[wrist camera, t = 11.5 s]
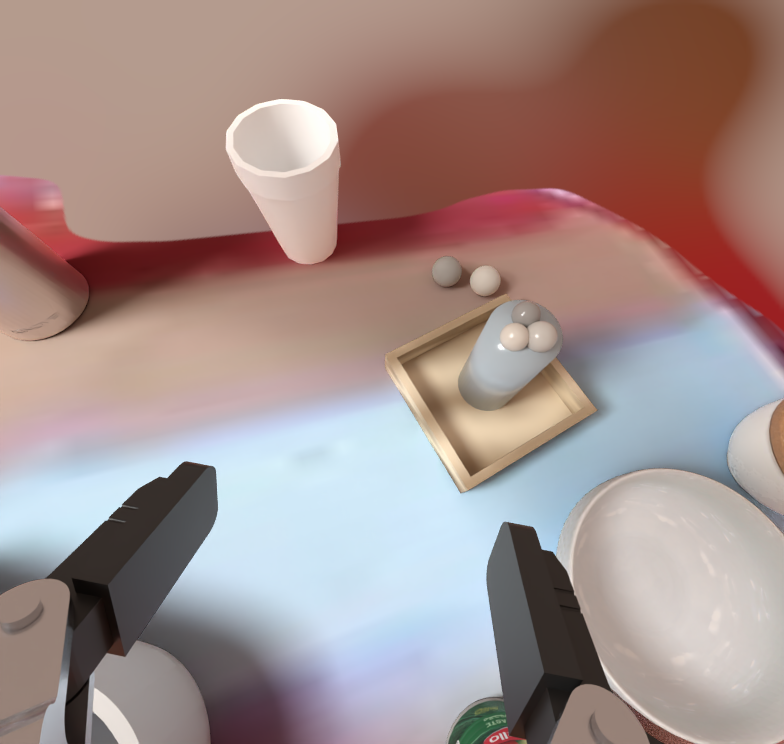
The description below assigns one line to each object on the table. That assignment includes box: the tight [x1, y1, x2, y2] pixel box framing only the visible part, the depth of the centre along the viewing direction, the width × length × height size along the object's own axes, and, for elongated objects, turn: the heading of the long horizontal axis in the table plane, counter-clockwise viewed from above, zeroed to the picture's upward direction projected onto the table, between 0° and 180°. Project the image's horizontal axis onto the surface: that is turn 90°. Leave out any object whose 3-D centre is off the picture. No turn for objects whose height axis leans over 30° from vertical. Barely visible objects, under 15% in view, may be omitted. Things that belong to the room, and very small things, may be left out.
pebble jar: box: [458, 300, 563, 411], centre depth 31 cm, size 5×5×13 cm
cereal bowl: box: [556, 468, 784, 744], centre depth 29 cm, size 17×17×7 cm
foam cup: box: [226, 99, 341, 264], centre depth 38 cm, size 10×9×13 cm
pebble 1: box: [432, 256, 462, 287], centre depth 41 cm, size 3×3×3 cm
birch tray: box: [385, 294, 597, 493], centre depth 36 cm, size 14×14×3 cm
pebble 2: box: [470, 265, 501, 296], centre depth 41 cm, size 3×3×3 cm
